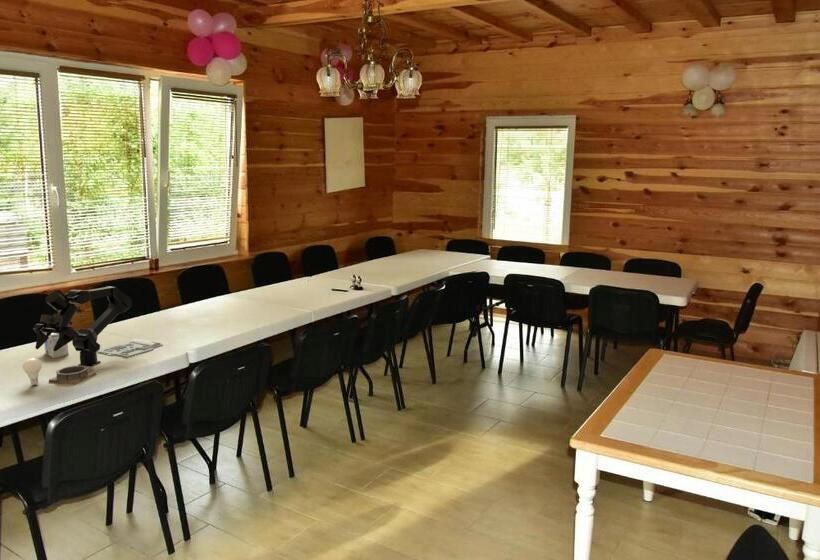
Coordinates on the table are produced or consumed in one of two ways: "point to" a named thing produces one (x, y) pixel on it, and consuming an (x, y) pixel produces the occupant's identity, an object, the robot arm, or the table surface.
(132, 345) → the grey openwork panel
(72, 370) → the bulb holder
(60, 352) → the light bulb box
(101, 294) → the robot arm
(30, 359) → the lightbulb
